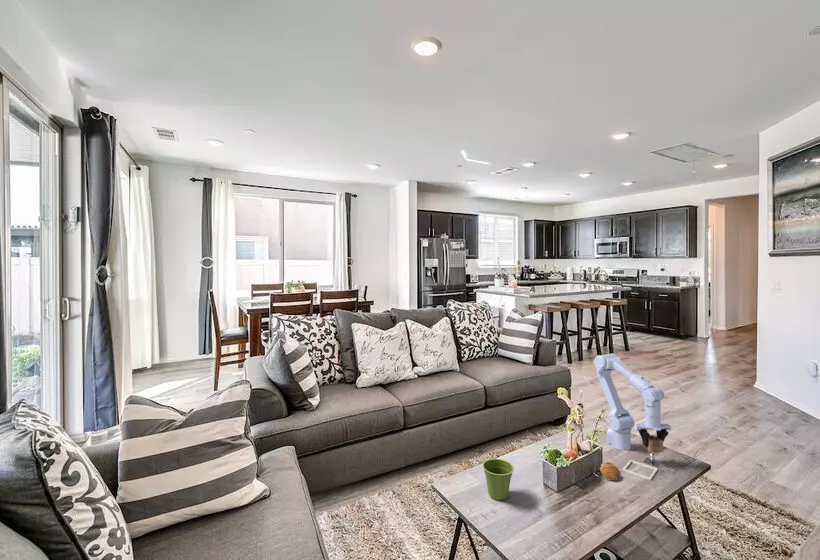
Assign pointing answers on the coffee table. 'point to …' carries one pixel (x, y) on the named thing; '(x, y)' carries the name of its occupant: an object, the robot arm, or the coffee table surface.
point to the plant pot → (498, 477)
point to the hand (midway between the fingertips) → (652, 446)
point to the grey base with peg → (652, 460)
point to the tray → (641, 465)
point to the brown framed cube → (654, 444)
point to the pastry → (609, 471)
